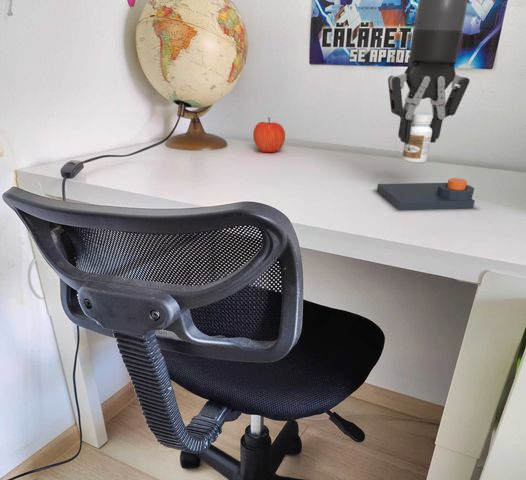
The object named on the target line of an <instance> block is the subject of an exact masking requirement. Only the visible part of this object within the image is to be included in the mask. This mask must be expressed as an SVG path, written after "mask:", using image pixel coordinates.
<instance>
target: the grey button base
mask: <svg viewBox="0 0 526 480" xmlns="http://www.w3.org/2000/svg"><path fill="white" fill-rule="evenodd" d="M447 184H448V182H411V183H402V182H401V183H377V187H376V192H378V194H380V196H382V197H383V198H384V199H386V201H388V202H389V203H390V204H391V205H392V206H393V207H395V208H396V209H397V210H398V211H410V210H411V211H414V210H415V211H416V210H418V211H419V210H450V209H453V210H456V209H457V210H458V209H473V208H474V206H475V202H476V200H475V199H473V195H474V192H475V187H474V186H472V185H469V184H466V189H465V190H454V189H449V188H447Z"/></svg>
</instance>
